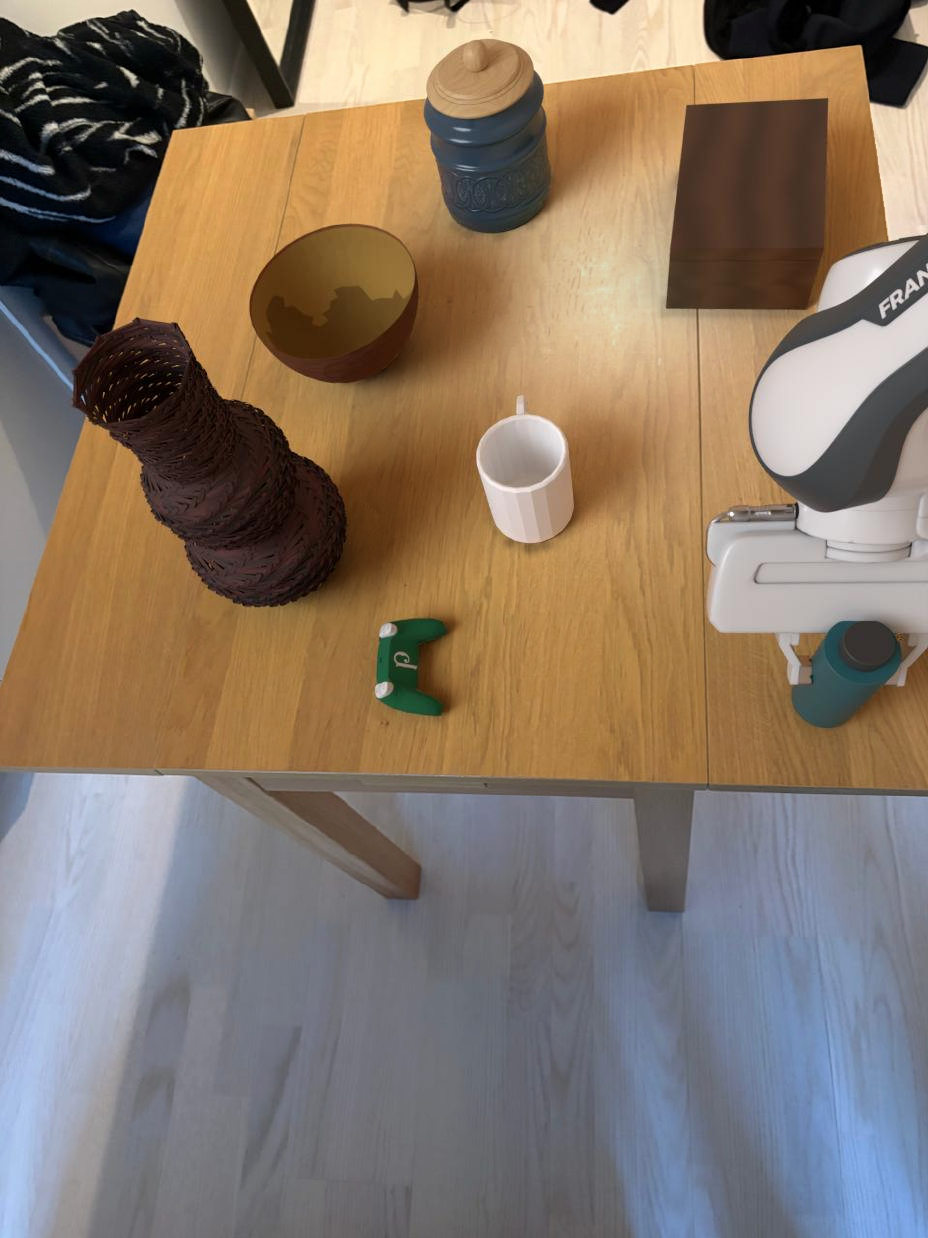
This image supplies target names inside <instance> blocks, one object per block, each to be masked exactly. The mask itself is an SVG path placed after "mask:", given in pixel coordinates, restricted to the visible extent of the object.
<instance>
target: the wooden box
mask: <svg viewBox="0 0 928 1238" xmlns="http://www.w3.org/2000/svg"><path fill="white" fill-rule="evenodd" d="M828 129H829V98H828V97H822V98H821V97H820V98H801V99H783V100H782V99H779V100H778V99H777V100H761V101H760V100H759V101H739V102H738V101H737V102H717V103H716V102H715V103H699V104H696V103H695V104H686V105H685V113H684V123H683V133H682V141H681V149H680V158H679V167H678V176H677V185H676V194H675V202H674V210H673V211H674V212H673V219H672V220H673V221H672V229H671V238H670V247H669V258H668V273H667V286H666V299H665V309H668V310H669V309H670V310H672V309H675V310H676V309H677V310H775V311H776V310H777V311H778V310H779V311H781V310H783V311H784V310H785V311H786V310H787V311H789V310H790V311H791V310H793V311H806V310H807V308H808V306H809V301H810V298H811V294H812V291H813V287H814V284H815V281H816V277H817V274H818V271H819V268H820V264H821V262H822V261H821V260H822V257H823V254H824V252H825V251H824V250H825V241H826V240H825V239H826V237H825V236H826V200H827V197H826V196H827V167H828V165H827V163H828V162H827V161H828V131H829V130H828Z"/></svg>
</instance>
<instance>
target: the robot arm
mask: <svg viewBox="0 0 928 1238" xmlns="http://www.w3.org/2000/svg"><path fill="white" fill-rule="evenodd" d="M758 374H759V375H758V376H757V378H756V380H755V383H754V386H753V388H752V392H751V395H750V400H749V407H748V417H747V418H748V433H749V439H750V444H751V448H752V451H753V453H754V455H755V457H756V459H757V461H758V463H759V464H760V466H761V467H762V468H763V470H764V471H765V472H766V474H767V475H768V476H769V477H770V478H771V479H772V480H773V481H774V482H775V483H776V484H777V485H778V486H779V487H780V488H781V489H782V490H783V491H785V492H786V493H788V495H790V496H791V497H792V498H794V499H795V500H796V501H795V503H776V504H772V503H771V504H766V505H756V506H755V505H754V506H751V505H750V506H749V505H747V504H738V505H733V506H729V508H728V511H727V510H726V511H724V512H723V511H722V512H721V513H719V514H717V515H716V516H714V517H713V518H712V519H711V521H710V522H709V523H708V525H707V527H706V531H705V544H704V545H705V546H704V548H705V549H704V550H705V555H706V557H707V560H708V561H709V562H710V564H711V567H710V572H709V576H708V578H709V579H708V583H707V591H706V602H705V605H706V606H705V607H706V615H707V619H708V620H709V623H710V624H711V626H713V628H715V629H716V630H717V632H719V633H720V634H721V633H722V634H774V636H775V639H776V641H777V644H778V646H779V648H780V650H781V651H782V653H783V654H784V657H785V658H786V659H787V665H786V666H787V667H786V677H787V680H788V683H789V685H790V686H794V685H811V683H812V678H811V675H812V674H813V665H812V662H810V659H811V657H810V656H809V655H803V654H802V655H801V654H800V655H799V654H797V652H796V650H795V648H794V647H793V646H799V645H800V640H801V634H827V633H828V631H829V630H830V629H831V628H832V627H833V626H834V625H835V624H837V623H838V622H840V621H878V622H880V623H882V624H883V625H885V626H886V627H887V628H889V629H890V630H891V631H892V632H893V633H894V635H898V634H899V636H900V637H901V638H902V640H901V642H899V644H900V647H901V652H902V659H901V664H900V666H899V668H898V670H897V672H896V673H895V674H894V675H893V676H892V677H891V678H890V679H889V680H888V681H887V682H886V683H885V684H884V685H883V686H882V687H905V685H906V679H907V674H908V667H911V666H912V665H913V664H914V663H915V662H916V661H917V660H918V658H919V657H920V656H921V655H922V654H923V653H924V652H925V651H926V650H927V649H928V232H927V233H925V234H919V235H912V236H905V237H900V238H898V239H893V240H889V241H881V242H877V243H872V244H870V245H866V246H863V247H860V248H857V249H855V250H853V251H851V252H849V253H847V254H845V255H844V256H842V258H840V259H839V260H837V261H836V262H834V263H833V264H832V265H831V267H830V268H829V270H828V272H827V274H826V277H825V280H824V282H823V286H822V288H821V291H820V295H819V298H818V302H817V307H816V311H815V312H814V313H812V314H810V315H808V316H805V318H803V319H801V320H800V321H799V322H797V324H795V325H794V326H793V327H792V329H790V330H789V331H788V333H787V334H786V335H785V336H784V337H783V338H782V339H781V340H780V342H779V343H778V345H777V346H776V347H775V348H774V350H773V351H772V352H771V354H770V356H768V359H767V360H766V362H765V363H764V365H763V367H762V368H761V371H760V373H758ZM725 518H728V519H725ZM724 519H725V520H724Z"/></svg>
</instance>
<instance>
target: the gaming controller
mask: <svg viewBox="0 0 928 1238" xmlns="http://www.w3.org/2000/svg"><path fill="white" fill-rule="evenodd" d="M447 633H448V628H447V626H446V624H445V622H444V621H443V620H441V619H438V618H433V617H421V618H420V617H416V618H415V617H413V618H405V619H399V620H393V621H389V622H385V623H384V624H383V625H381V627H380V629H379V633H378V634H379V635H378V642H379V643H378V648H377V654H376V655H377V656H376V669H375V671H376V673H375V677H376V679H375V680H376V683H375V685H374V686H375V687H374V691H375V698H376V699H377V700H378V701H379V702H380V703H382V704H384V705H386V706H387V707H389V708H391V709H393V710H396V711H400V712H403V713H407V714H413V715H419V716H429V717H441V716H442V713H443V710H444V707H445V704H444V703H443V702H442V701H440V699H438V698H436V697H434V696H432V695H431V694H428V693H426V692H423V691H421V690H418V678H419V662H420V661H419V660H420V645H422V644H424V643H427V642H431V641H434V640H435V641H436V640H438V639H439V638H442V637H444V636H446V634H447Z"/></svg>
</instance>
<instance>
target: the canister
mask: <svg viewBox="0 0 928 1238" xmlns="http://www.w3.org/2000/svg"><path fill="white" fill-rule="evenodd" d="M534 67H535V66H534V62H533V60H532V57H531V56H530V55H529V53H528V52H527V51H526V50H525V49H523V48H522V47H521V46H519V45H516V44H514V43H512V42H508V41H504V40H501V39H496V38H482V39H480V38H479V39H472V40H470V41H467V42H465V43H463V44H461V45H459V46H457V47H455V48H453V50H451V51H449V52H448V53H447V54H446V55H445V56H444V57H443V58H442V59H441V60H439V62H438V63H436V64H435V66H434V67H433V68H432V70H431V71H430V73H429V75H428V78H427V80H426V85H425V87H426V88H425V89H426V90H425V92H426V97H425V101H424V103H423V119H424V122H425V124H426V126H427V128H428V130H429V131H430V137H429V145H430V149H431V152H432V154H433V156H434V158H435V163H436V166H437V170H438V171H437V172H438V175H439V176H438V177H439V179H440V184H441V185H440V187H441V188H440V190H441V195H442V199H443V202H444V205H445V207H446V208H447V210H448V212H449V213H448V214H450V216H451V218H452V219H453V221H455V222H456V223H457V224H458V225H460V226H461V227H463V228H465V229H467V230H469V231H474V232H478V233H491V234H492V233H501V232H506V231H508V230H512V229H516V228H517V227H519V226H520V227H521V226H522V225H524V224H525V223H527V222H528V221H530V220H531V219H533V218H535V216H536V215H537V214H538V213H539V212H540V211H541V210H542V209H543V208H544V206H545V205H546V203H547V201H548V199H549V196H550V191H551V185H552V166H551V161H550V159H549V150H548V149H549V148H548V138H547V137H548V136H547V126H548V119H547V113H546V111H545V108H544V106H543V102H544V97H545V87H544V83H543V80H542V78H541V76H540V75H539V73H538V71H536V70H535V68H534Z"/></svg>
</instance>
